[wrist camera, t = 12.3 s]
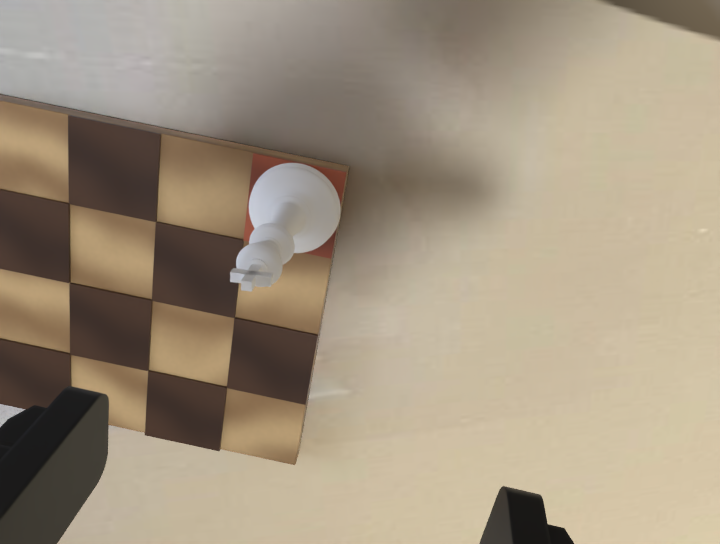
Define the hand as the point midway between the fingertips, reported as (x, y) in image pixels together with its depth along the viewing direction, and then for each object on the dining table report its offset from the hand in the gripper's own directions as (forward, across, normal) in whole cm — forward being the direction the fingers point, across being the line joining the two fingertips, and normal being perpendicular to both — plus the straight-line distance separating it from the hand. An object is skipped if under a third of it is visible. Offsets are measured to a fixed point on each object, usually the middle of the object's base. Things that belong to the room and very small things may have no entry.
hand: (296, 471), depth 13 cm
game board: (+24, +12, +11) cm, 29 cm away
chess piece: (+23, +4, +3) cm, 24 cm away
